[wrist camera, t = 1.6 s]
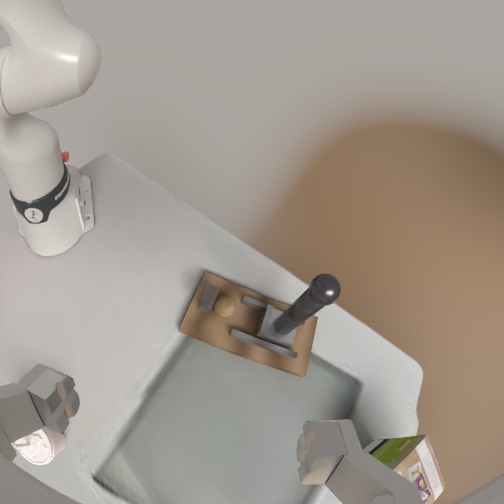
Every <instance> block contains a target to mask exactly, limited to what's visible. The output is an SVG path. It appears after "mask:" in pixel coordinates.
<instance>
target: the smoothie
mask: <svg viewBox="0 0 504 504" xmlns="http://www.w3.org/2000/svg"><path fill="white" fill-rule="evenodd" d="M15 443H16V444H14V445H13V447H14V448H15V449H18V450H19V452H20V453H21V454H22V456H23V457H24V458H25V459H27V460H28V461H29V462H31V463H33V464H37V465H43V464H47V463H49V462H50V461H51V460H52V459H53V456H55V455H56V454H57V453H59V452H60V451H61V450H63V449H64V448H65V447H66V438H65V436H64V435H63V433H62V434H60V433H58V432H56V431H54V430H51V429H49V428H47V427H44V428H42V429H40V430H38V431H35V432H33V433H31V434H29V435H27V436H25V437H23V438H21V439H19V440H16V441H15Z"/></svg>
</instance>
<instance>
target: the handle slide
mask: <svg viewBox="0 0 504 504" xmlns="http://www.w3.org/2000/svg"><path fill="white" fill-rule="evenodd" d="M340 291H341V287H340V284H339V281H338V280H337V279H336V278H335V277H334V276H333V275H330V274H320V275H318V276H316V277H315V278H314V279H313V280H312V281H311V283H310V286H309V288H308V289H307V290H306V291H305V292H304V293H303V294H302V295H301V296H300V297H299V298H298V299H297V300H296V301H295V302H294V303H293V304H292V305H291V306H290V307H289V308H287V309H286V310H285V311H284V312H282V311H280V310H277V309H275V308H274V306H272V305H269V304H268V305H267V306H266V308H265V309H264V310H263V311H262V312H261V316H260V319H259V322H258V325H257V328H256V331H255V335H254V337H256V338H258V339H261V340H264V341H266V342H269V343H272V344H275V345H277V346H280V347H283V348H288V347H289V346H291V345H293V342H294V338H295V334H296V330H297V327H298V326H299V325H301V324H302V323H303V322H305V321H306V320H307V319H309V318H310V317H311V316H313V315H314V314H315V313H316V312H318V311H319V310H320V309H322V308H323V307H324V306H327V305H330V304H333V303H334V302H335V301H336V300H337V299H338V298H339V295H340Z"/></svg>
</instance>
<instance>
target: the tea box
mask: <svg viewBox="0 0 504 504" xmlns="http://www.w3.org/2000/svg"><path fill="white" fill-rule="evenodd" d="M363 452H364V453H369V454H370V455H372V456H373V457H375V458H376V459H377V460H379V461H380V462H382V463H383V464H385V465H386V466H388V467H389V468H391V469H392V470H393V471H395V472H397V473H398V474H400V475H401V476H403V477H404V478H406V479H407V480H409V481H410V482H412V483H414V484H415V485H416V486H417V488H418V490H419V492H420V495H421V497H422V499H423V502H424V504H432V503H433V502H434V501H435V500H436V499H437V497H438V496H439V495H440V494H441V492H442V491H443V490H444V489H445V488H446V486H445V482H444V479H443V476H442V473H441V471H440V468H439V465H438V462H437V459H436V457H435V454H434V451H433V449H432V446H431V444H430V442H429V439H428V436H427V435H419V436H411V437H403V438H392V439H381V440H374V441H373V442H371V443H370V444H369V445H368V446H366V447H365V448H364V449H363Z"/></svg>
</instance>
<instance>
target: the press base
mask: <svg viewBox="0 0 504 504" xmlns="http://www.w3.org/2000/svg"><path fill="white" fill-rule="evenodd" d="M268 304H269V305H272V306H274V308H275V309H277V310H280V311H282V312H284V311H285V310H286V309H287V308H289V307H290V306H288V305H285V304H283V303H280V302H278V301H275V300H273V299H270V298H268V297H265V296H263V295H261V294H258V293H256V292H253V291H251V290H248V289H246V288H244V287H241V286H239V285H237V284H234V283H232V282H229V281H227V280H225V279H222V278H220V277H218V276H215V275H213V274H211V273H208V272H206V271H205V274H204V276H203V278H202V280H201V282H200V284H199V286H198V289H197V291H196V293H195V295H194V297H193V300H192V302H191V304H190V306H189V308H188V310H187V313H186V315H185V317H184V319H183V322H182V324H181V326H180V328H179V332H182V333H184V334H186V335H189V336H191V337H193V338H196V339H198V340H200V341H203V342H205V343H208V344H210V345H212V346H215V347H217V348H220V349H223V350H225V351H228V352H230V353H233V354H236V355H238V356H241V357H244V358H246V359H249V360H252V361H255V362H257V363H260V364H263V365H266V366H269V367H272V368H275V369H278V370H281V371H284V372H287V373H291V374H294V375H297V376H300V377H303V376H305V375H306V371H307V367H308V362H309V358H310V353H311V349H312V344H313V339H314V334H315V329H316V324H317V319H318V317H316V316H311V317H310V318H309V319H307V320H306V321H305V322H303V323H302V324H301V325H299V326H298V327H297V330H296V334H295V338H294V342H293V345H291V346H289V347H288V348H283V347H280V346H277V345H275V344H272V343H269V342H266V341H264V340H261V339H258V338H256V337H254V335H255V331H256V328H257V325H258V322H259V319H260V316H261V312H262V311H263V310H264V309H265V308H266V306H267V305H268Z"/></svg>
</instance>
